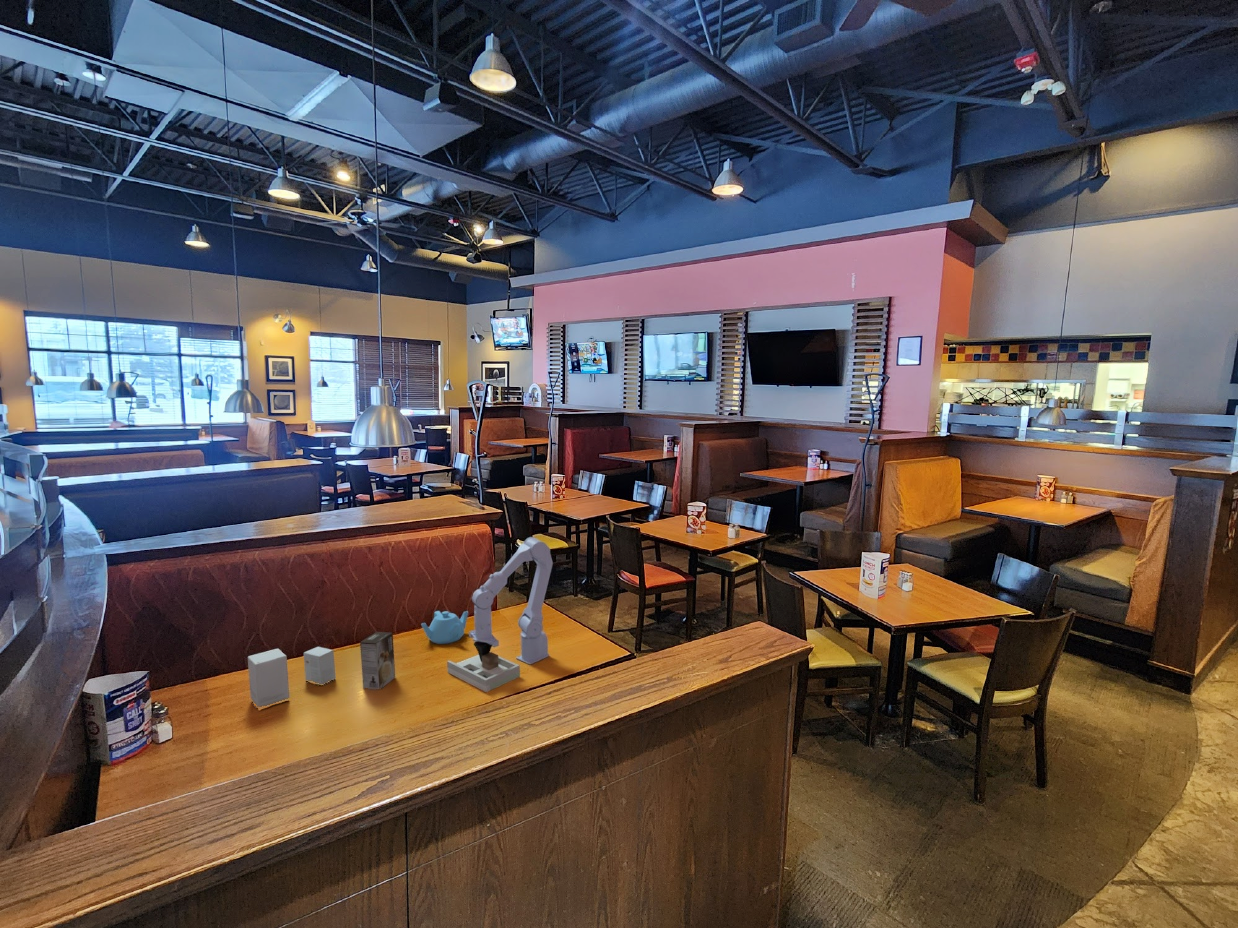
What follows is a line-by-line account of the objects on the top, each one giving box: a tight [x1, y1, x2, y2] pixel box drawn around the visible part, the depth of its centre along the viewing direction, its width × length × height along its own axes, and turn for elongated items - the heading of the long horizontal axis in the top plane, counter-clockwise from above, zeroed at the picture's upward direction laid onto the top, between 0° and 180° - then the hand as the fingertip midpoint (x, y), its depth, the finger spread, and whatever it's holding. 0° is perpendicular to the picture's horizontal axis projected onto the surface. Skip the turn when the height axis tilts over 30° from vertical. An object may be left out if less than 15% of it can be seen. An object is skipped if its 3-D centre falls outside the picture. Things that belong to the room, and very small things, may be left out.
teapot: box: [420, 610, 469, 645], centre depth 230 cm, size 15×15×11 cm
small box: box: [303, 646, 337, 684], centre depth 195 cm, size 8×6×10 cm
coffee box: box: [359, 631, 396, 690], centre depth 193 cm, size 9×6×16 cm
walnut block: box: [482, 651, 499, 670], centre depth 200 cm, size 4×4×4 cm
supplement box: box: [247, 648, 290, 707], centre depth 181 cm, size 9×9×15 cm
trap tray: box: [446, 654, 521, 693], centre depth 198 cm, size 14×22×4 cm, turn 49°
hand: (484, 661), depth 202 cm, fingers closed
